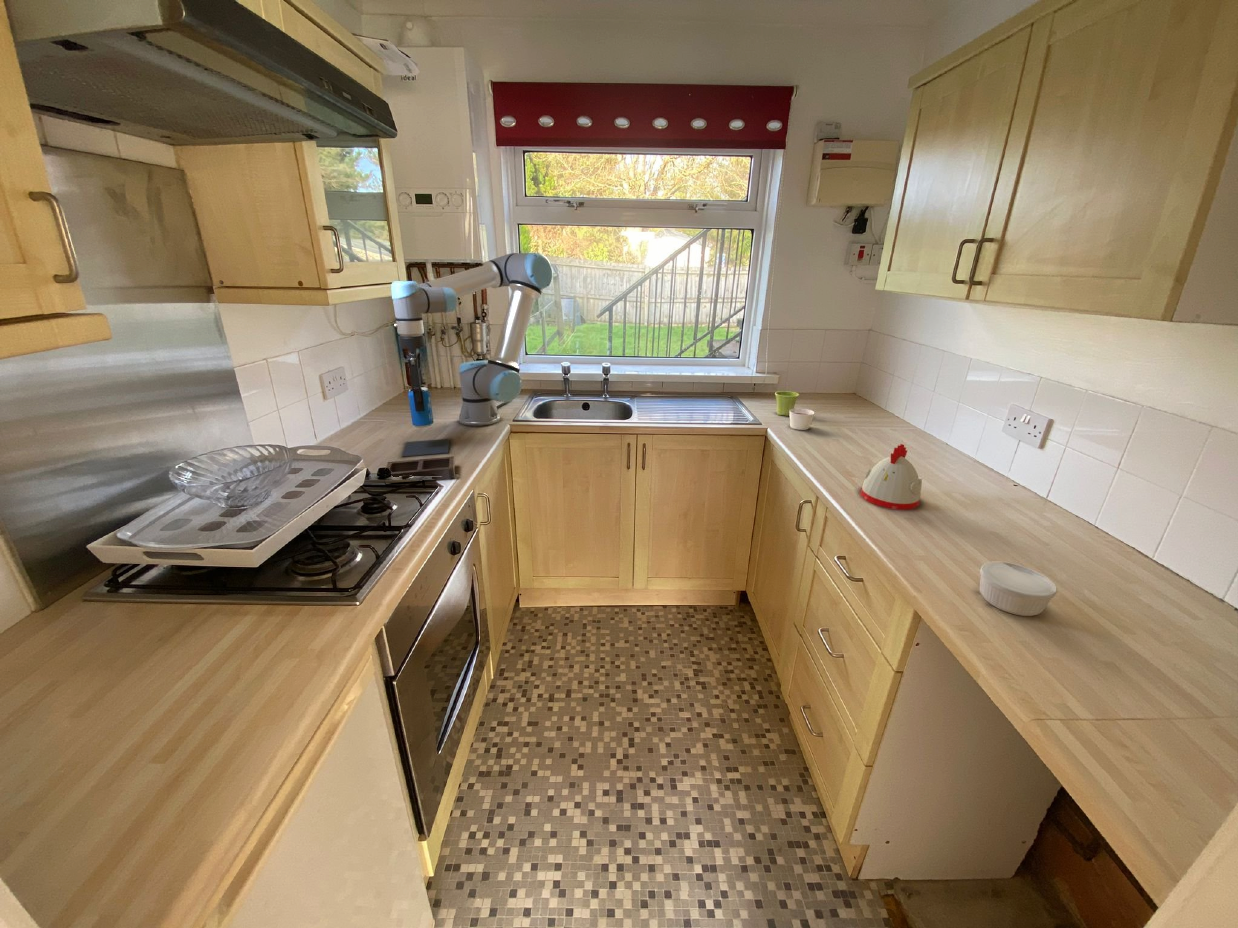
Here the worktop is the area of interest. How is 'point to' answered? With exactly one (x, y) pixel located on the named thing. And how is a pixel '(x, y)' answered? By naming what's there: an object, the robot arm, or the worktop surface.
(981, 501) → the worktop surface
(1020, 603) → the ramekin
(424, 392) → the beverage can
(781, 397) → the plant pot
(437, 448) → the mat
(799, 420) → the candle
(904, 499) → the kitchen timer
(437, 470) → the can caddy
